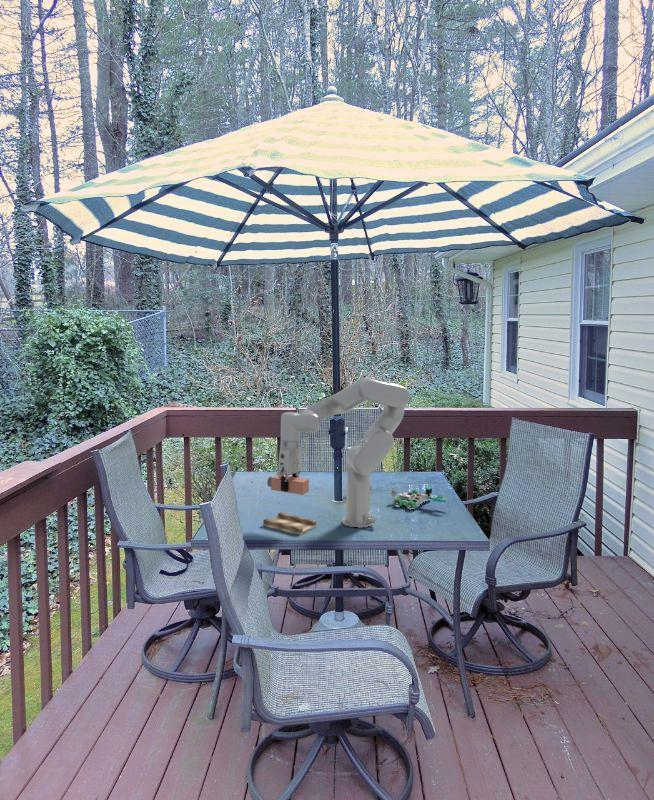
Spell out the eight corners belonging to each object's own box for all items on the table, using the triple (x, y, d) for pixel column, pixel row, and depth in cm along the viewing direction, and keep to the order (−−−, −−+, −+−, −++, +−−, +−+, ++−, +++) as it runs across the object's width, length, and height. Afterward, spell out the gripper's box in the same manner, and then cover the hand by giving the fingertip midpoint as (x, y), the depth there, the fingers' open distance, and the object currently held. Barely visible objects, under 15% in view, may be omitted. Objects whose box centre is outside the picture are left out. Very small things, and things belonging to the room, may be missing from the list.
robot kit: (439, 517, 251) (439, 496, 250) (386, 506, 265) (387, 485, 264) (456, 506, 266) (457, 486, 265) (405, 496, 280) (406, 476, 279)
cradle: (316, 527, 237) (316, 520, 236) (300, 535, 228) (300, 528, 227) (280, 518, 246) (280, 512, 246) (263, 525, 237) (263, 519, 237)
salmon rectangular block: (308, 491, 234) (308, 479, 234) (302, 494, 230) (303, 482, 229) (272, 486, 241) (273, 474, 240) (266, 489, 236) (266, 476, 236)
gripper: (284, 449, 223) (283, 496, 226) (310, 441, 238) (309, 486, 240) (268, 446, 227) (268, 492, 230) (295, 439, 242) (294, 482, 244)
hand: (289, 488), depth 235 cm, fingers closed on salmon rectangular block, 5 cm apart
